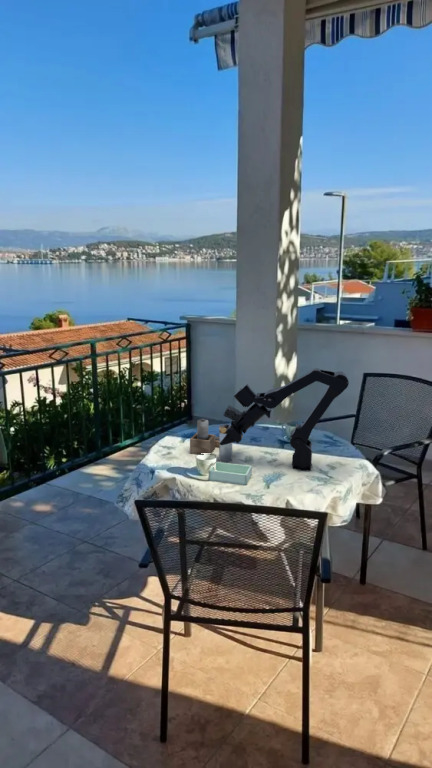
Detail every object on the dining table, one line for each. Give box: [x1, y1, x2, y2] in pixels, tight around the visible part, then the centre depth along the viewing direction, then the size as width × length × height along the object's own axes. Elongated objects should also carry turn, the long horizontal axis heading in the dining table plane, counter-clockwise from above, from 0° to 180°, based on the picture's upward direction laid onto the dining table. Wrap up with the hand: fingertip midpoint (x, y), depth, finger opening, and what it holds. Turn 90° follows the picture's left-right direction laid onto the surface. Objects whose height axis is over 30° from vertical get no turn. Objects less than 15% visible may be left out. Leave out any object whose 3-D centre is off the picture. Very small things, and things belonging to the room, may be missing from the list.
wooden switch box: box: [215, 436, 219, 449], centre depth 205 cm, size 8×6×3 cm
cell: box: [218, 423, 233, 463], centre depth 188 cm, size 5×5×14 cm
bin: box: [189, 418, 216, 455], centre depth 197 cm, size 8×8×13 cm
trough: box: [208, 461, 253, 486], centre depth 173 cm, size 13×9×4 cm, turn 74°
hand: (222, 441), depth 188 cm, fingers open, 6 cm apart
